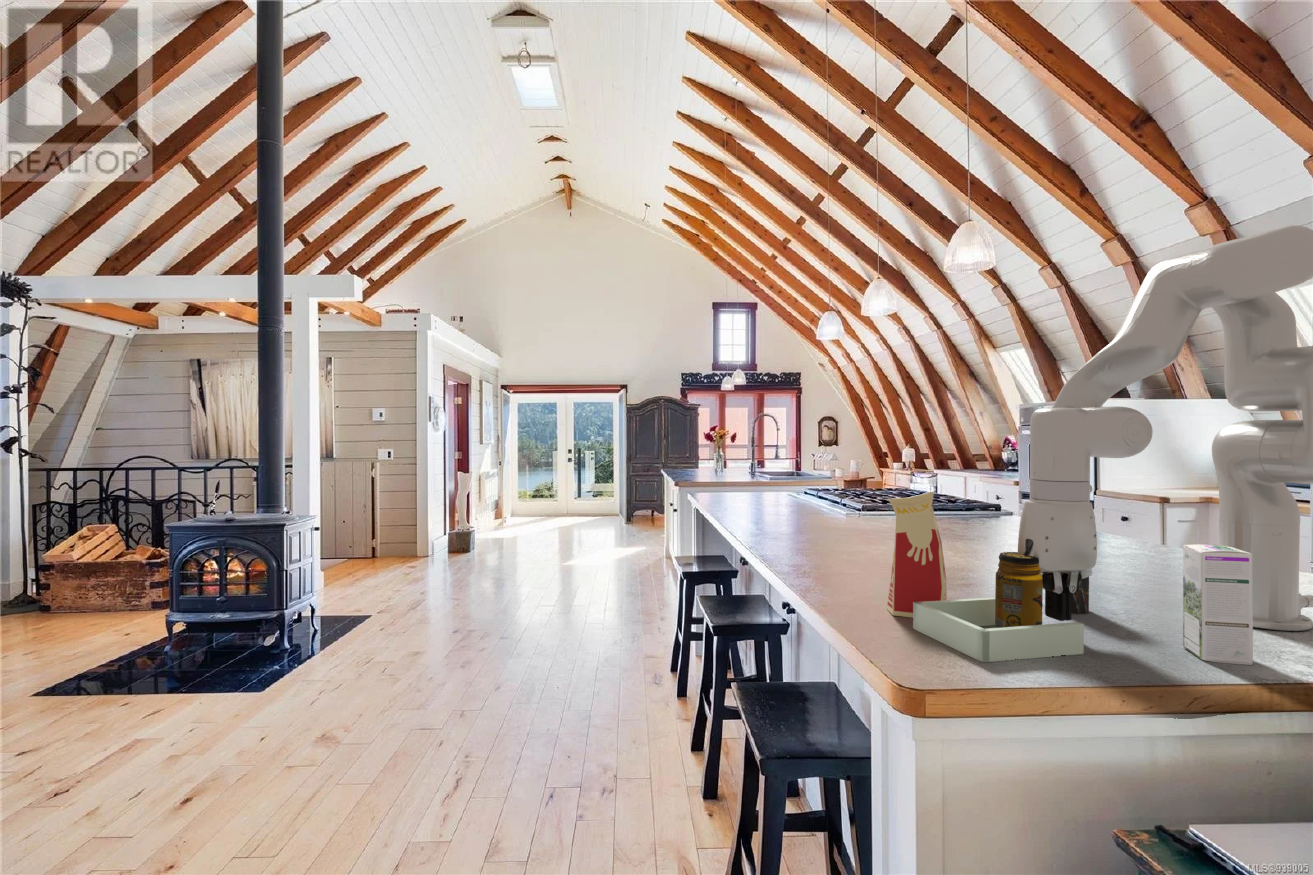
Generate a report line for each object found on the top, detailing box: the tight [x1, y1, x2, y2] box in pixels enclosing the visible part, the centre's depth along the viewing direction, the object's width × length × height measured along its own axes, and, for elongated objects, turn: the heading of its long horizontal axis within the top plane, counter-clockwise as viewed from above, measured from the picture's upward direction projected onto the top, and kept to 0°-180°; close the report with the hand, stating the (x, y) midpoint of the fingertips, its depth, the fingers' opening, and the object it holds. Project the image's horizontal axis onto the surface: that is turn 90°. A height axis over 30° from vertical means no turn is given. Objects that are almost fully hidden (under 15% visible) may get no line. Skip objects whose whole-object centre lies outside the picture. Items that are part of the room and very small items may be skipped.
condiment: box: [994, 551, 1044, 628], centre depth 97 cm, size 7×8×12 cm
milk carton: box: [886, 490, 948, 619], centre depth 110 cm, size 9×9×20 cm
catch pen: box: [912, 596, 1085, 663], centre depth 95 cm, size 16×15×4 cm
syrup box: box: [1182, 543, 1254, 666], centre depth 89 cm, size 6×6×14 cm
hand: (1058, 618), depth 98 cm, fingers closed
